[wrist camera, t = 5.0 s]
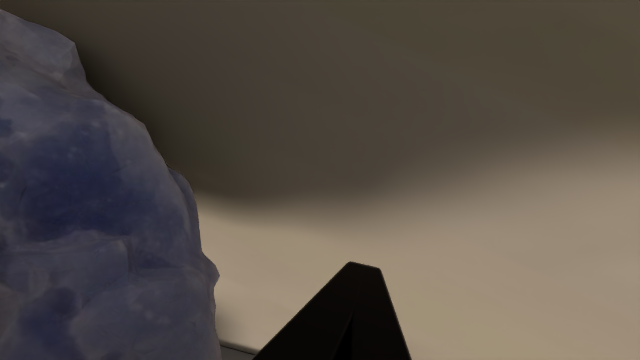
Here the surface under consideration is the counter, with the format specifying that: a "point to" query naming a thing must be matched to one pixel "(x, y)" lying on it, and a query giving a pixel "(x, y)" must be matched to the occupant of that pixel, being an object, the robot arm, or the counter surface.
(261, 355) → the robot arm
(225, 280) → the counter surface
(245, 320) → the counter surface
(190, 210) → the mineral
